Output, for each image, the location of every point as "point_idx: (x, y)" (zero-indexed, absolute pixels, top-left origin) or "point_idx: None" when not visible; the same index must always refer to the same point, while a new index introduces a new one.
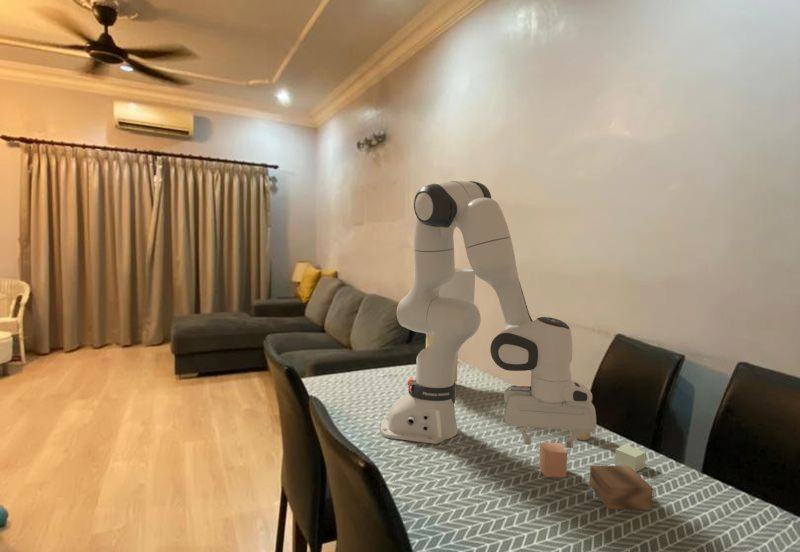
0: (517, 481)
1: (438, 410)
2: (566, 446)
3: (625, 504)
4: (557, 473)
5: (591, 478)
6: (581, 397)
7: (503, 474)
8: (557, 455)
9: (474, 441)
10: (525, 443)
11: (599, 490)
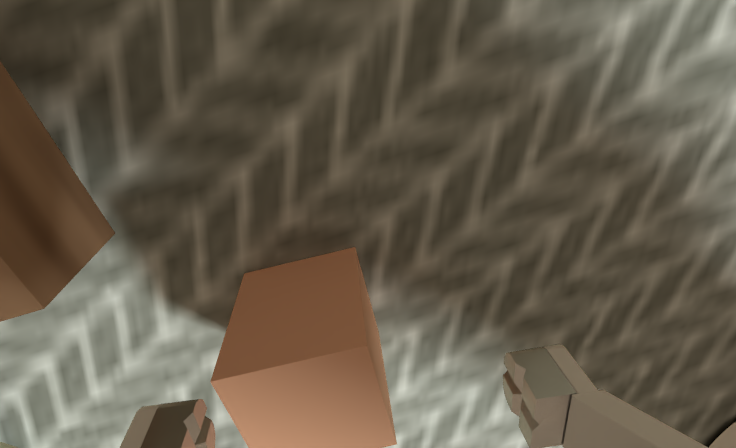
0: (507, 146)
1: None
2: (197, 407)
3: None
4: (287, 274)
5: (73, 242)
6: None
7: (572, 194)
8: (283, 347)
9: None
10: (555, 348)
11: (5, 130)
